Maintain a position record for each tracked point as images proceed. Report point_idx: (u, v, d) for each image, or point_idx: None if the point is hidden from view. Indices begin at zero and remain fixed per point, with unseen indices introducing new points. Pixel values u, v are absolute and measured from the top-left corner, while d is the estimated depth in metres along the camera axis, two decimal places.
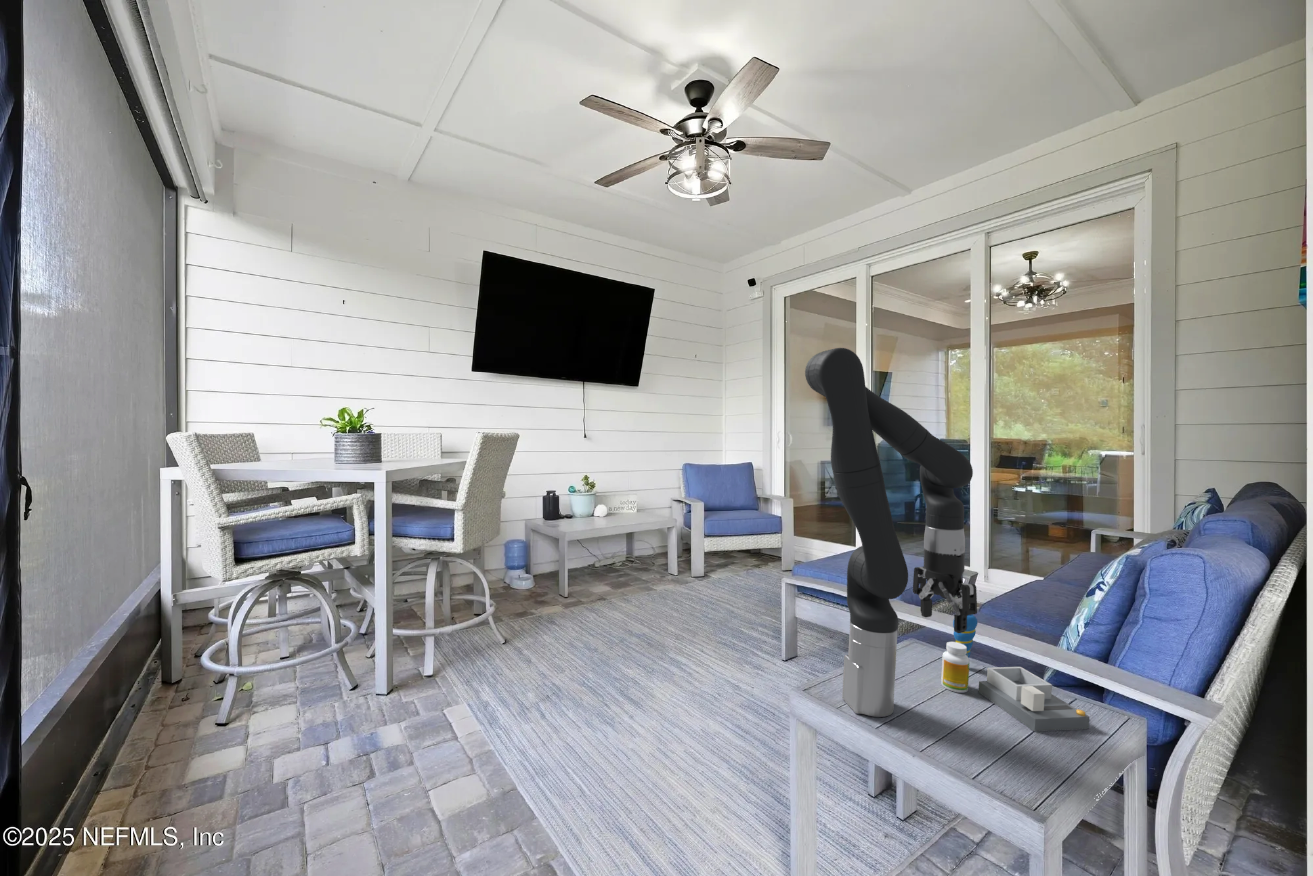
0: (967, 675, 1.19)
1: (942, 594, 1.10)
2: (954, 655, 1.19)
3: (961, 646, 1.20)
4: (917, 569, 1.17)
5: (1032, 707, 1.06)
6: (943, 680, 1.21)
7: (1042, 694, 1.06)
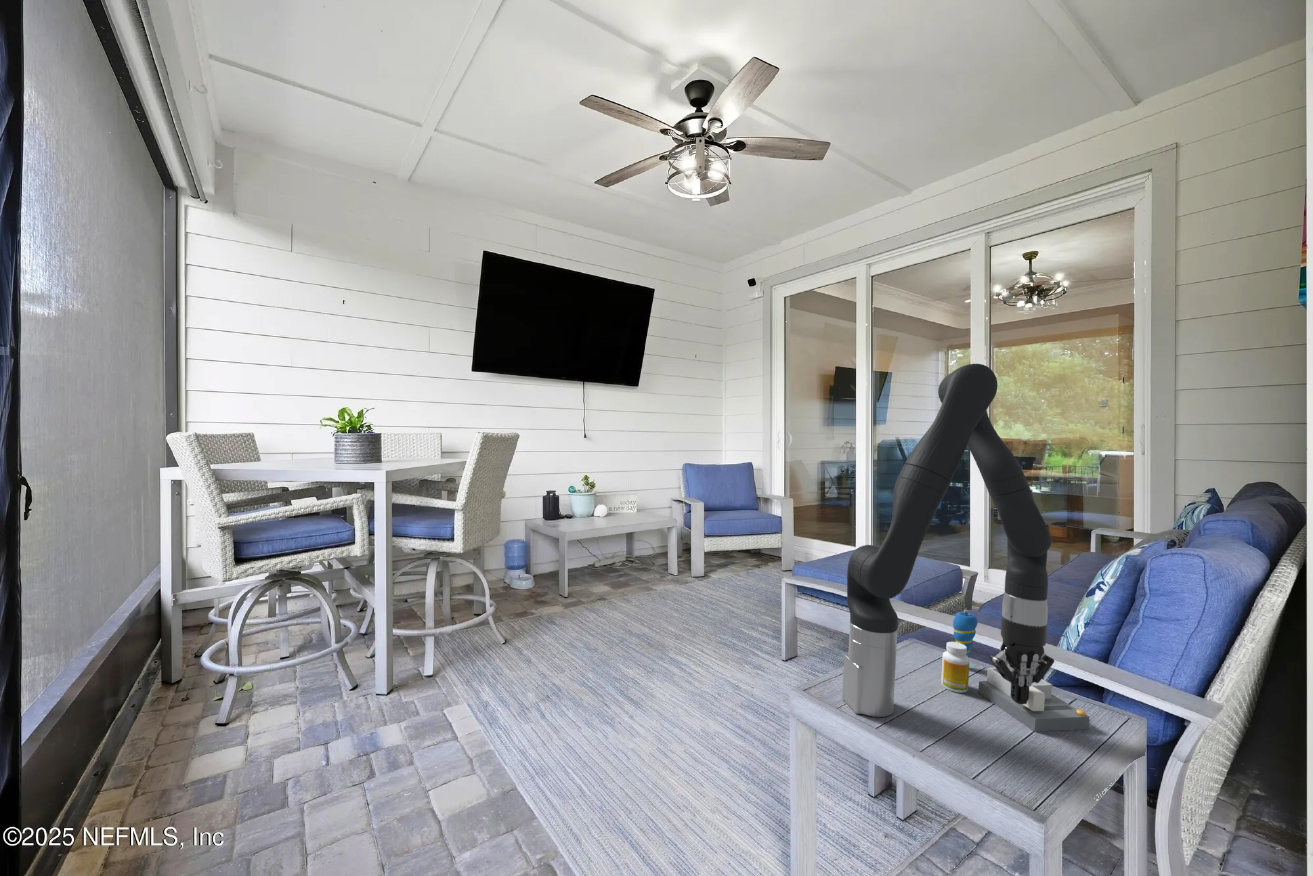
0: (967, 675, 1.19)
1: None
2: (954, 655, 1.19)
3: (961, 646, 1.20)
4: (1001, 660, 1.05)
5: (1032, 707, 1.06)
6: (943, 680, 1.21)
7: (1042, 694, 1.06)
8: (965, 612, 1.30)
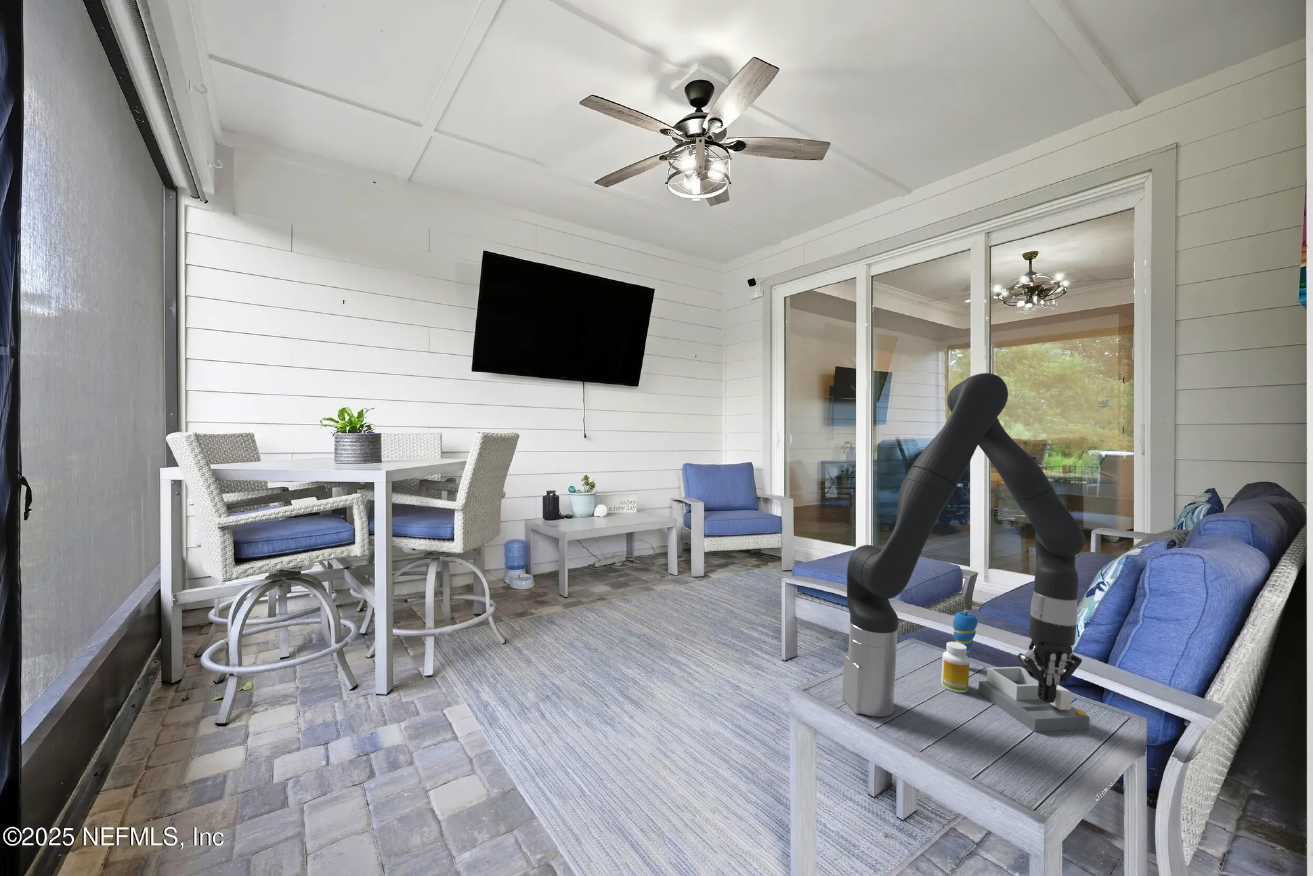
0: (967, 675, 1.19)
1: None
2: (954, 655, 1.19)
3: (961, 646, 1.20)
4: (1030, 659, 1.06)
5: (1059, 706, 1.07)
6: (943, 680, 1.21)
7: (1069, 693, 1.07)
8: (965, 612, 1.30)
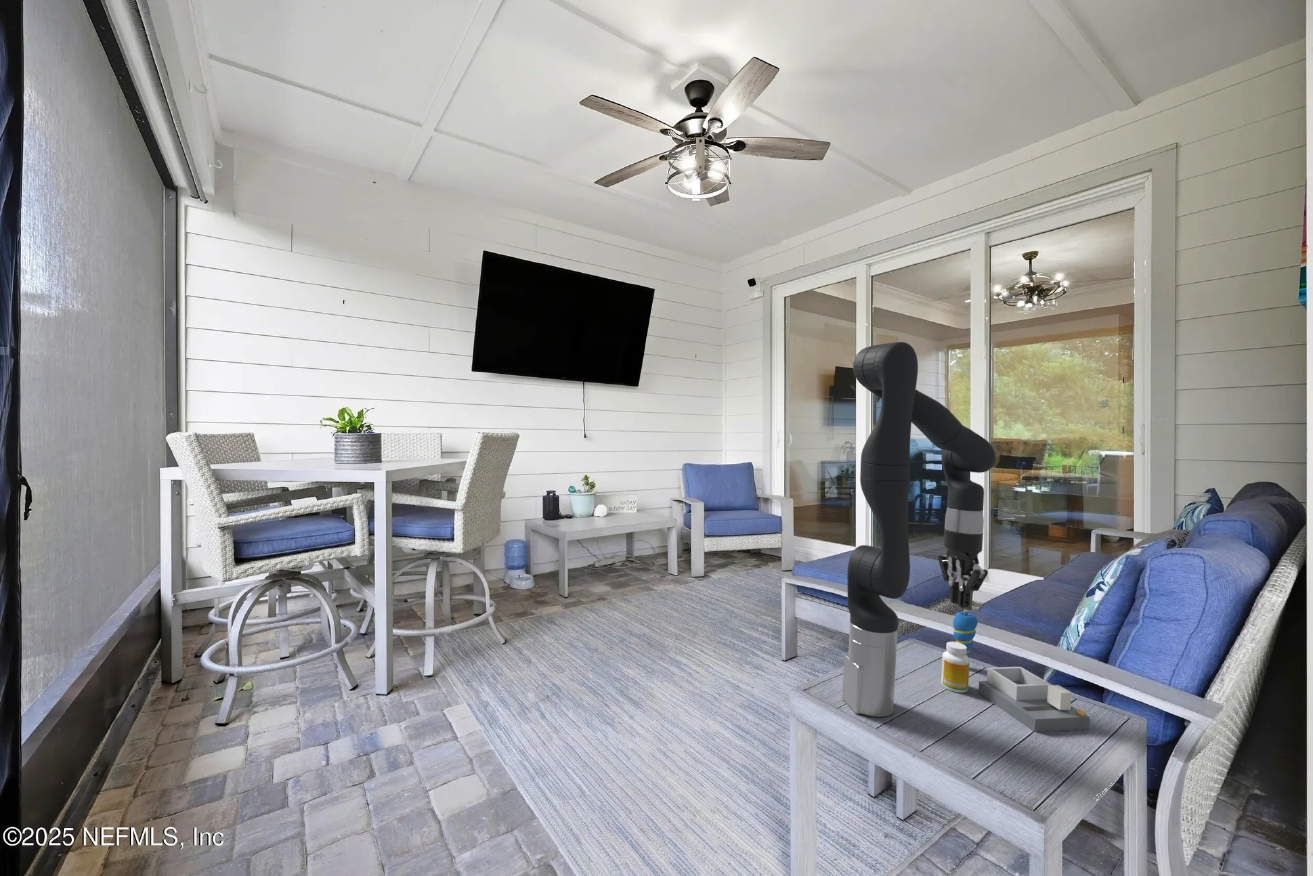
0: (967, 675, 1.19)
1: None
2: (954, 655, 1.19)
3: (961, 646, 1.20)
4: None
5: (1059, 706, 1.07)
6: (943, 680, 1.21)
7: (1069, 693, 1.07)
8: (965, 612, 1.30)
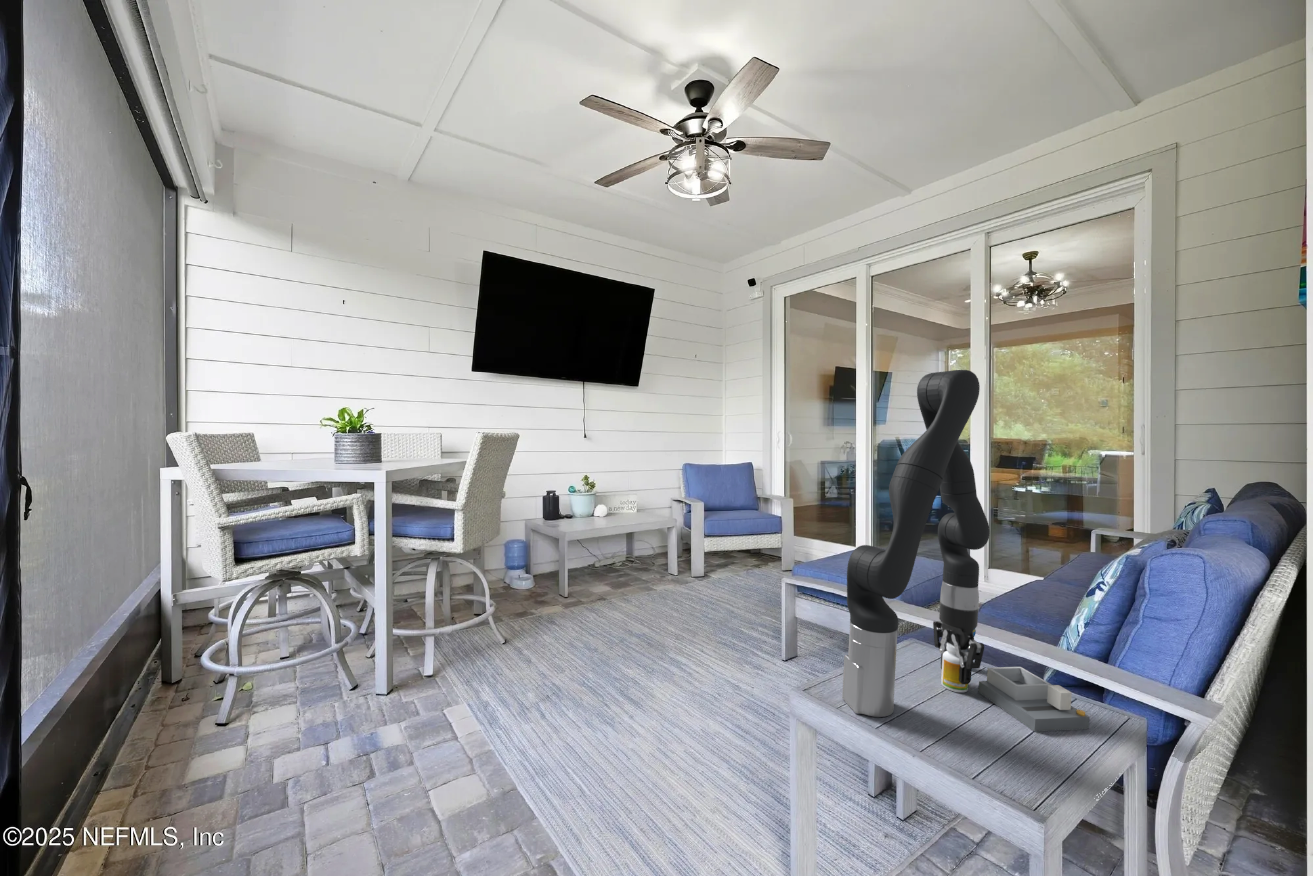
0: None
1: None
2: (954, 655, 1.19)
3: None
4: None
5: (1059, 706, 1.07)
6: (943, 680, 1.21)
7: (1069, 693, 1.07)
8: None
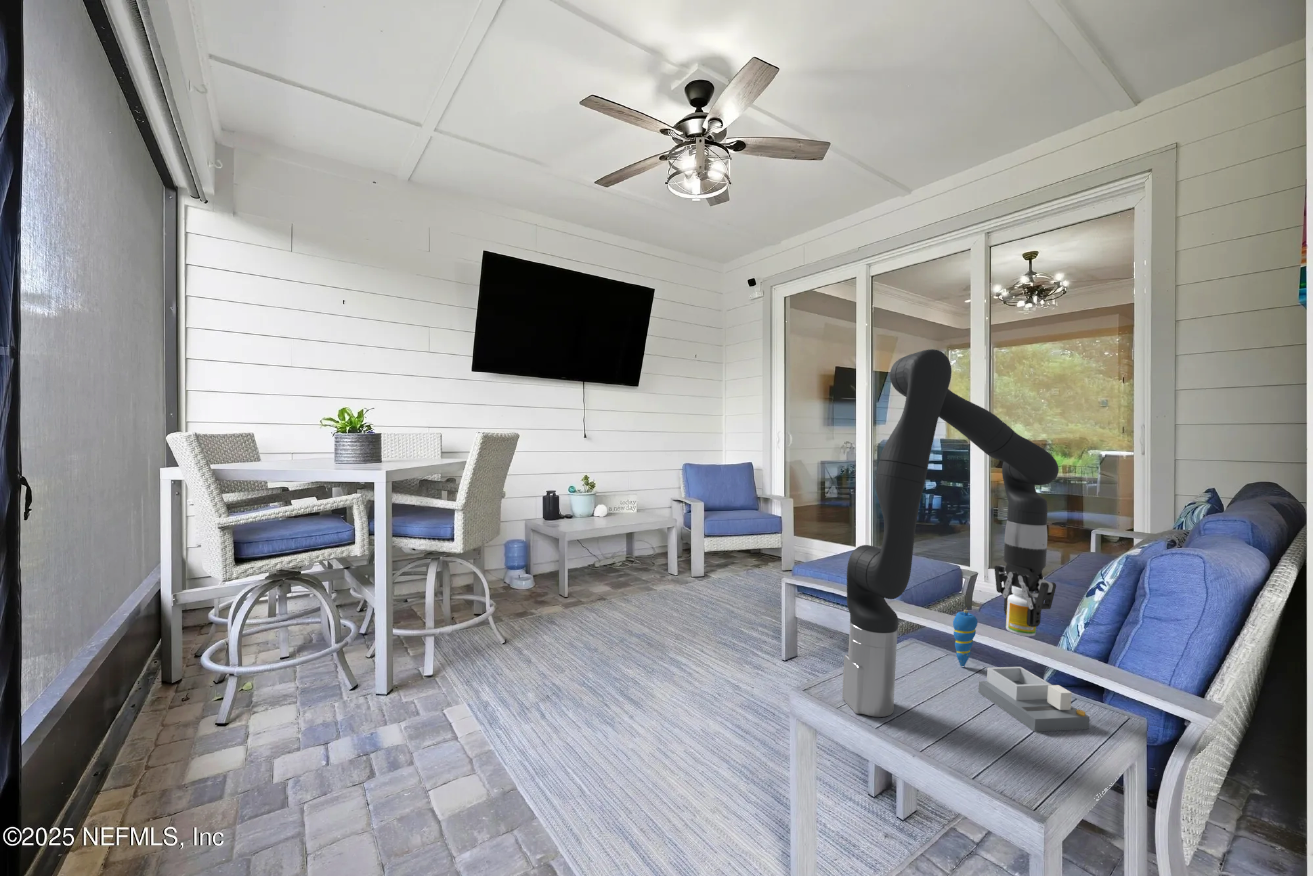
0: None
1: None
2: (1021, 598, 1.14)
3: None
4: None
5: (1059, 706, 1.07)
6: (1009, 624, 1.15)
7: (1069, 693, 1.07)
8: (965, 612, 1.30)
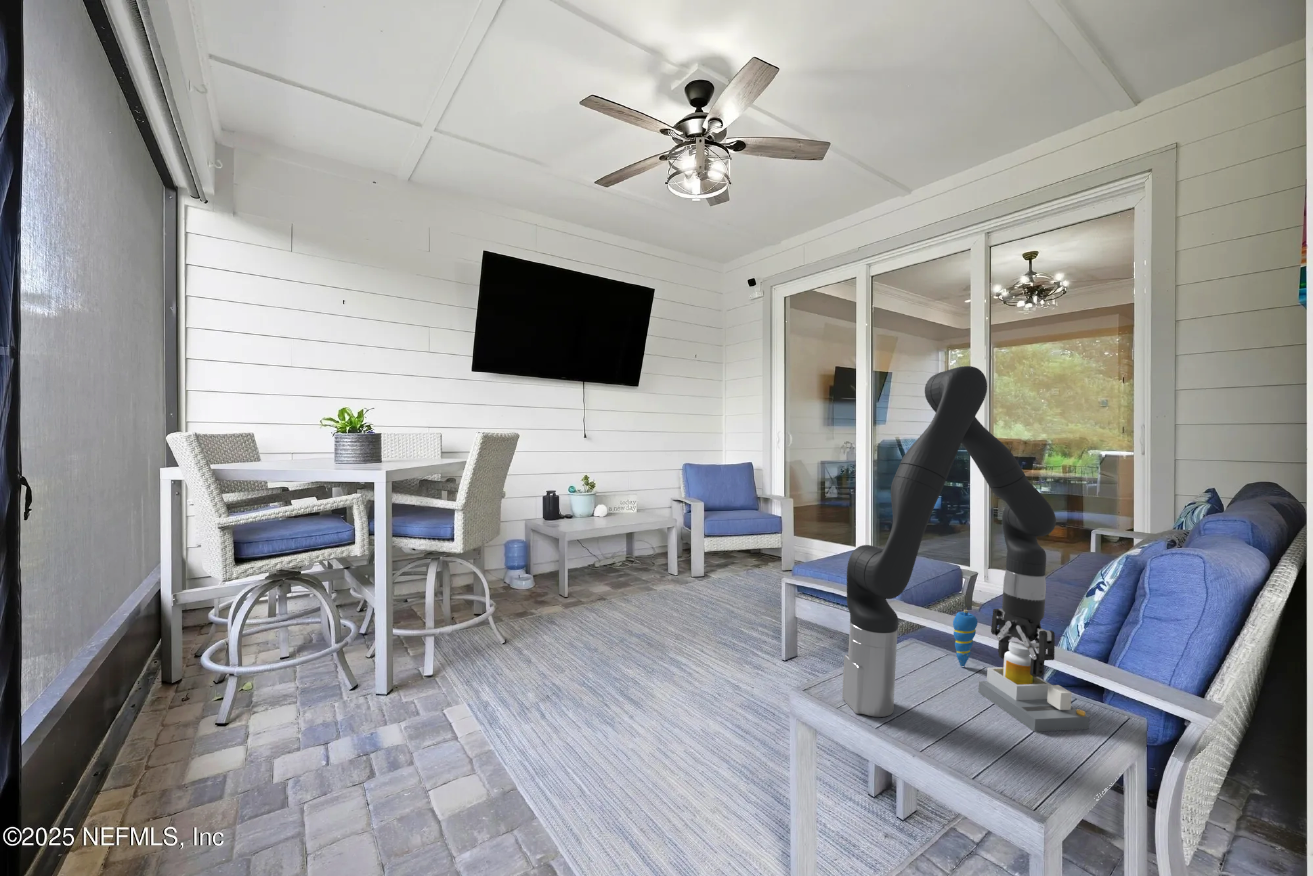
0: (1032, 677, 1.14)
1: None
2: (1018, 656, 1.14)
3: None
4: None
5: (1059, 706, 1.07)
6: None
7: (1069, 693, 1.07)
8: (965, 612, 1.30)
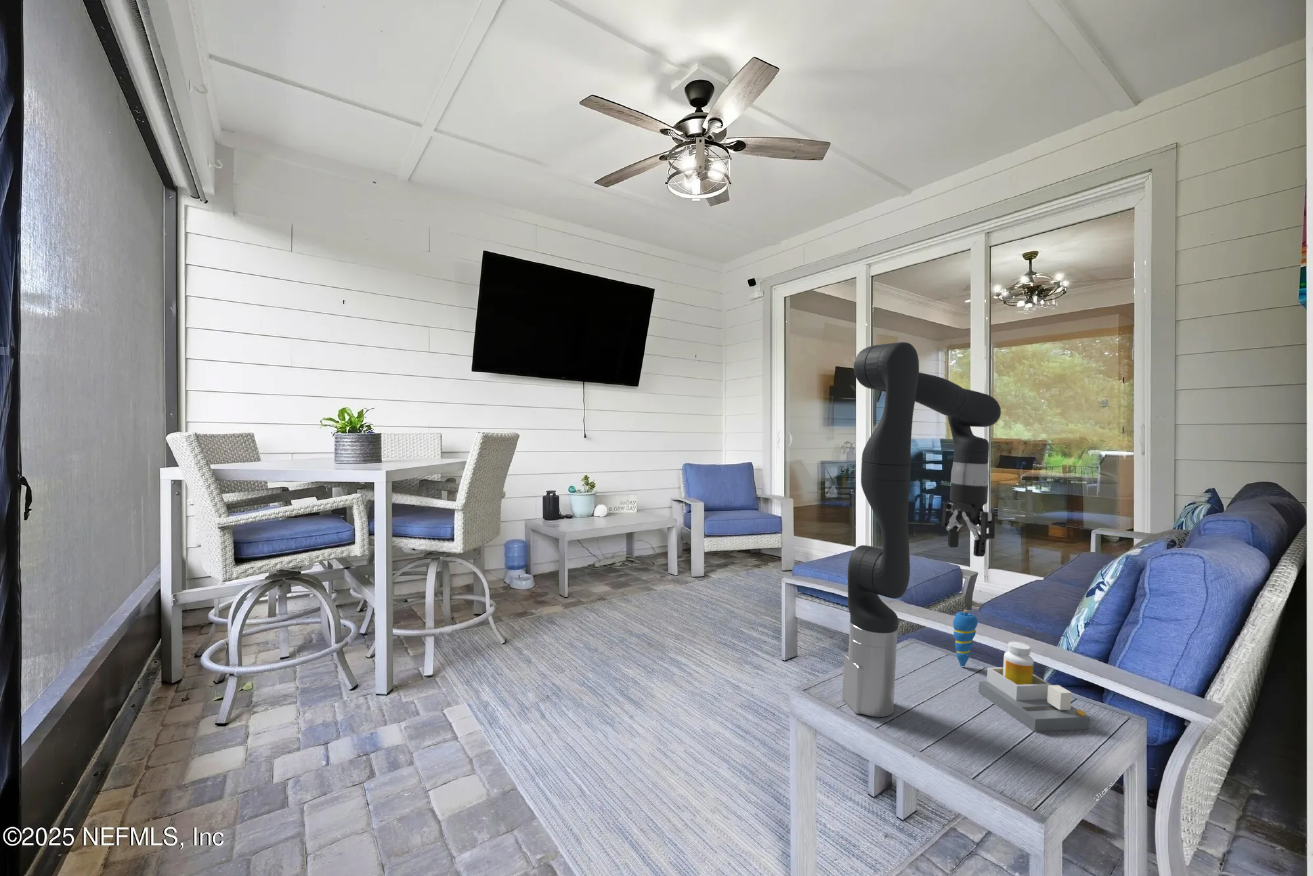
0: (1031, 676, 1.14)
1: None
2: (1017, 656, 1.14)
3: (1024, 646, 1.15)
4: None
5: (1059, 706, 1.07)
6: None
7: (1069, 693, 1.07)
8: (965, 612, 1.30)
